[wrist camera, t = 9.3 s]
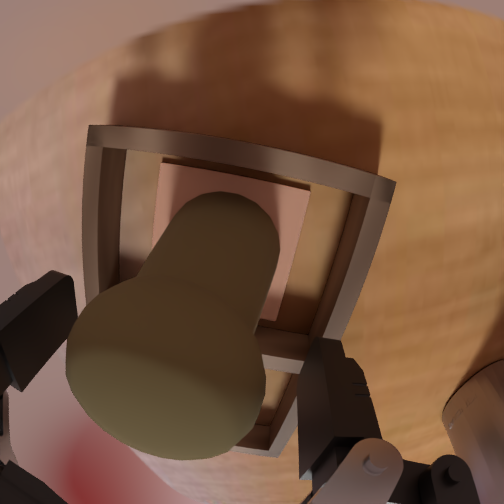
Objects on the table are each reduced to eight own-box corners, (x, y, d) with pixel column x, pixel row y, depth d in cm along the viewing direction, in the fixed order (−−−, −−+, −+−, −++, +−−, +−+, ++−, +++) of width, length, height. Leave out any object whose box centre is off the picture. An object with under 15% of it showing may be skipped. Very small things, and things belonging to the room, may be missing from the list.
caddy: (377, 174, 14) (396, 181, 11) (278, 434, 21) (278, 457, 19) (114, 125, 14) (88, 125, 11) (118, 395, 21) (107, 415, 19)
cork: (162, 191, 15) (-6, 293, 4) (282, 191, 14) (297, 330, 4) (172, 295, 17) (82, 455, 6) (278, 301, 16) (273, 493, 6)
